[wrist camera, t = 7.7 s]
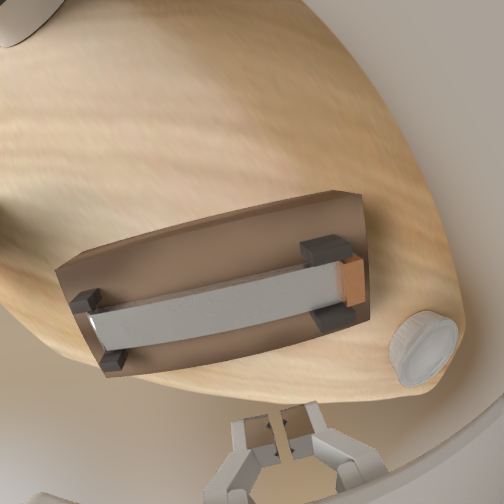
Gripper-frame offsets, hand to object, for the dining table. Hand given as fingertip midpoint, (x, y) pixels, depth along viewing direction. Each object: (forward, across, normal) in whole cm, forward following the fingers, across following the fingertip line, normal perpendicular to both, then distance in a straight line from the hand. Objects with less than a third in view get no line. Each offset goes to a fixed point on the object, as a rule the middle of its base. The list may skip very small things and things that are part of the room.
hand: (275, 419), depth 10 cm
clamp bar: (+12, +2, 0) cm, 12 cm away
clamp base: (+19, +2, 0) cm, 19 cm away
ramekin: (+19, -22, +17) cm, 34 cm away
